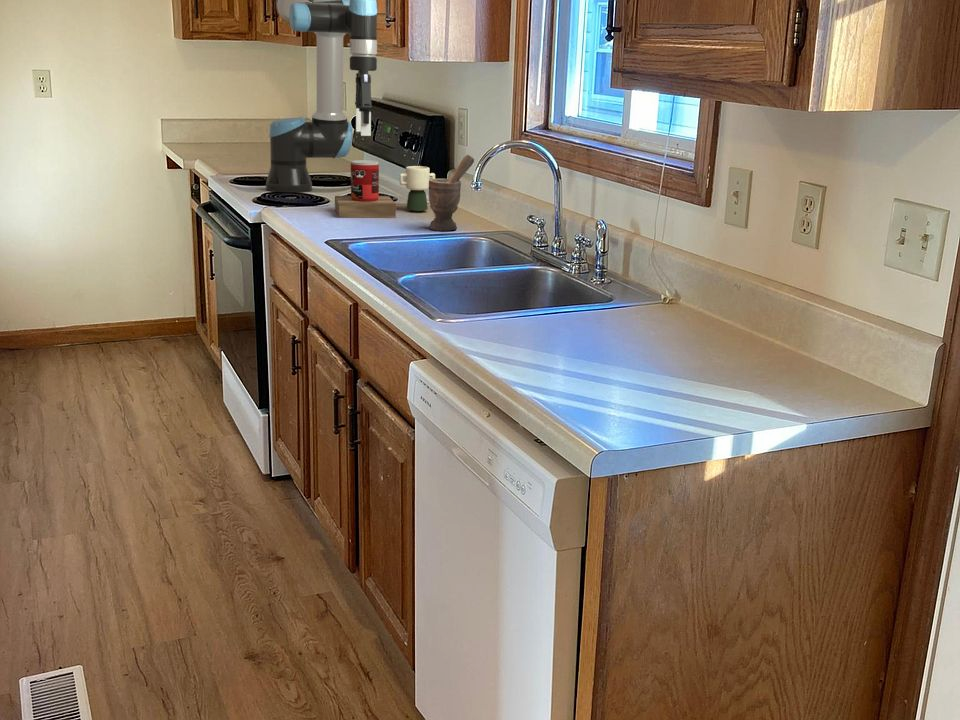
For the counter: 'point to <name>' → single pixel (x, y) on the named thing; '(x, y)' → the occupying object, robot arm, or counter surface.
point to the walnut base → (365, 208)
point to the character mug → (417, 186)
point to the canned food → (364, 180)
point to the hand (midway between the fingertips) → (363, 133)
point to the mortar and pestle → (447, 197)
